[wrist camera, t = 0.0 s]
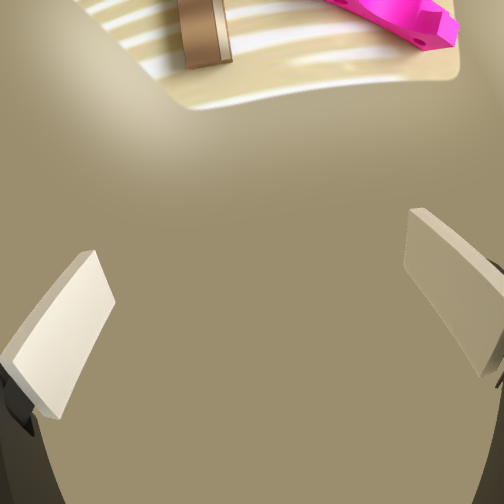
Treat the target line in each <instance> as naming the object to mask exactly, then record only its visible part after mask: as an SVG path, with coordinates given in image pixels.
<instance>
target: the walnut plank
mask: <svg viewBox="0 0 504 504" xmlns="http://www.w3.org/2000/svg"><path fill="white" fill-rule="evenodd" d="M177 4H178V11H179V18H180V26H181V33H182V40H183V47H184V53H185V60H186V67H188V68H190V69H196V68H201V67H206V66H212V65H217V64H223V63H230V62H233V60H232V53H231V47H230V40H229V34H228V27H227V21H226V14H225V8H224V2H223V0H177Z"/></svg>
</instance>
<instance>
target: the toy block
mask: <svg viewBox="0 0 504 504" xmlns="http://www.w3.org/2000/svg"><path fill="white" fill-rule="evenodd" d="M324 1H327V2H329V3H332V4H334V5H337V6H339V7H341V8H344V9H346V10H348V11H350V12H353V13H355V14H357V15H359V16H361V17H363V18H366V19H368V20H370V21H372V22H374V23H376V24H378V25H379V26H381V27H383V28H385V29H387V30H389V31H391V32H393V33H394V34H396V35H398V36H400V37H401V38H403V39H405V40H406V41H408V42H410V43H411V44H413V45H415V46H416V47H418V48H420V49H421V50H423V51H428V50H434V49H441V48H448V47H454V46H455V42H456V38H457V34H458V29H459V25H460V24H459V23H458V22H457V21H455V20H454V19H453V18H451V17H450V16H449V14H450V13H449V12H448V11H446V10H445V9H443V8H442V7H440V6H439V5H438V4H436V3H435V2H433V1H432V0H324Z"/></svg>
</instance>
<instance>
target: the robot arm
mask: <svg viewBox="0 0 504 504" xmlns="http://www.w3.org/2000/svg"><path fill="white" fill-rule="evenodd" d="M403 268H404V269H405V271H406V272H407V273H408V274H409V276H410V277H411V278H412V279H413V281H414V282H415V283H416V285H417V286H418V287H419V289H420V290H421V292H422V293H423V294H424V296H425V297H426V298H427V299H428V301H429V302H430V304H431V305H432V307H433V308H434V309H435V310H436V312H437V314H438V315H439V316H440V318H441V319H442V321H443V322H444V324H445V325H446V327H447V328H448V329H449V331H450V332H451V334H452V335H453V337H454V338H455V340H456V341H457V343H458V344H459V346H460V348H461V349H462V351H463V352H464V354H465V355H466V357H467V359H468V360H469V362H470V363H471V365H472V367H473V368H474V370H475V372H476V373H477V375H478V377H479V378H480V377H483V376H485V375H487V374H490V373H492V372H494V371H496V370H497V368H498V366H499V364H500V363H501V361H502V359H503V357H504V270H503V269H502V268H501V267H500V266H499V265H497V264H496V263H494V262H492V261H490V260H488V259H487V258H485V257H483V256H482V255H481V254H480V253H479V252H478V251H477V250H476V249H474V248H473V247H472V246H471V245H470V244H469V243H467V242H466V241H465V240H464V239H463V238H461V237H460V236H459V235H458V234H457V233H455V232H454V231H453V230H452V229H451V228H449V227H448V226H447V225H445V224H444V223H443V222H442V221H440V220H439V219H438V218H436V217H435V216H434V215H433V214H431V213H430V212H429V211H427V210H426V209H425V208H416V209H409V212H408V225H407V236H406V247H405V255H404V264H403ZM115 303H116V302H115V300H114V297H113V295H112V293H111V290H110V288H109V285H108V283H107V280H106V278H105V276H104V273H103V270H102V268H101V265H100V262H99V260H98V257H97V254H96V252H95V250H91V251H85V252H81V253H80V254H79V255H78V256H77V257H76V258H75V259H74V261H73V262H72V263H71V264H70V265H69V266H68V267H67V269H66V270H65V271H64V272H63V273H62V275H61V276H60V277H59V278H58V279H57V280H56V282H55V283H54V284H53V285H52V287H51V288H50V289H49V290H48V291H47V293H46V294H45V295H44V296H43V298H42V299H41V300H40V301H39V303H38V304H37V305H36V307H35V308H34V309H33V311H32V312H31V313H30V315H29V316H28V317H27V319H26V320H25V321H24V323H23V324H22V325H21V327H20V328H19V329H18V331H17V332H16V334H15V335H14V336H13V338H12V339H11V341H10V342H9V344H8V345H7V347H6V348H5V349H4V351H3V353H2V354H1V355H0V504H65V501H64V499H63V497H62V494H61V492H60V489H59V487H58V484H57V482H56V479H55V477H54V474H53V471H52V468H51V465H50V462H49V459H48V456H47V453H46V450H45V446H44V443H43V440H42V436H41V432H40V429H39V425H38V421H37V418H36V416H35V415H34V414H33V413H32V410H33V408H34V406H35V407H36V408H37V409H38V410H39V411H40V412H41V413H42V414H43V416H45V417H49V418H54V419H58V420H60V418H61V416H62V413H63V411H64V409H65V406H66V404H67V401H68V399H69V397H70V395H71V392H72V390H73V388H74V386H75V383H76V381H77V379H78V377H79V375H80V372H81V370H82V368H83V366H84V364H85V362H86V360H87V357H88V355H89V353H90V351H91V349H92V347H93V345H94V343H95V341H96V339H97V337H98V335H99V333H100V331H101V329H102V327H103V325H104V323H105V322H106V320H107V318H108V316H109V314H110V312H111V310H112V308H113V306H114V304H115ZM501 382H503V386H502V394H501V399H500V405H499V411H498V416H497V422H496V426H495V430H494V435H493V439H492V443H491V447H490V451H489V454H488V458H487V461H486V465H485V468H484V471H483V474H482V477H481V480H480V483H479V486H478V489H477V492H476V494H475V497H474V500H473V502H472V504H504V372H503V373H502V375H501V377H500V379H499V380H498V382H497V384H496V386H495V388H498V387H499V385H500V384H501Z"/></svg>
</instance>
